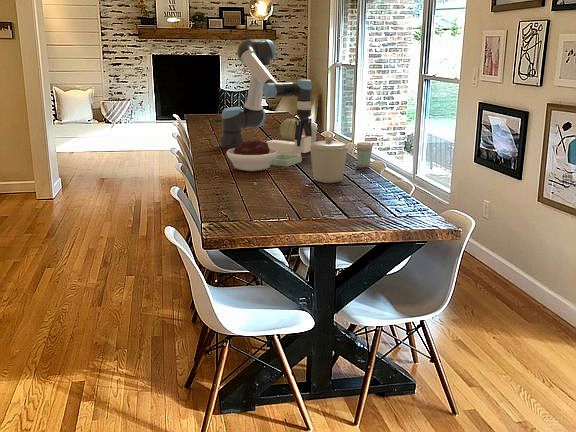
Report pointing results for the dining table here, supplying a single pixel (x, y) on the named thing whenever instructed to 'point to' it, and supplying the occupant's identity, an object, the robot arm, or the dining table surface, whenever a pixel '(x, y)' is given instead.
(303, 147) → the stub
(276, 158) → the stub tray
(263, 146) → the white serving bowl
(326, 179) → the canister
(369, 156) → the coffee cup
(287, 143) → the ticket bar
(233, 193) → the dining table surface
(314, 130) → the coffee cup
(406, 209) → the dining table surface
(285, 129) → the cantaloupe
